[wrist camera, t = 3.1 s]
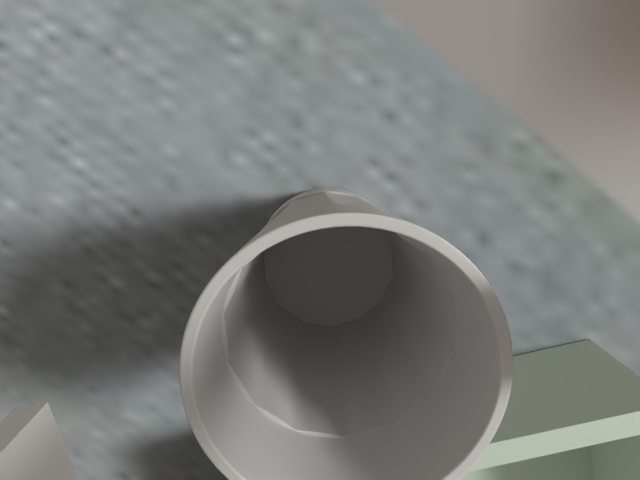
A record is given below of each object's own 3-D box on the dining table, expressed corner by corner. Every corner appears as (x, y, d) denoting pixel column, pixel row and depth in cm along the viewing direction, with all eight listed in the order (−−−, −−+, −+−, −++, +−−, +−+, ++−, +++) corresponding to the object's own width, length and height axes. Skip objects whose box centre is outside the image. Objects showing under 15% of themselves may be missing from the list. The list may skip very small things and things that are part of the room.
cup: (360, 363, 25) (408, 567, 14) (211, 291, 24) (124, 444, 13) (444, 220, 24) (578, 310, 12) (289, 137, 23) (273, 148, 11)
